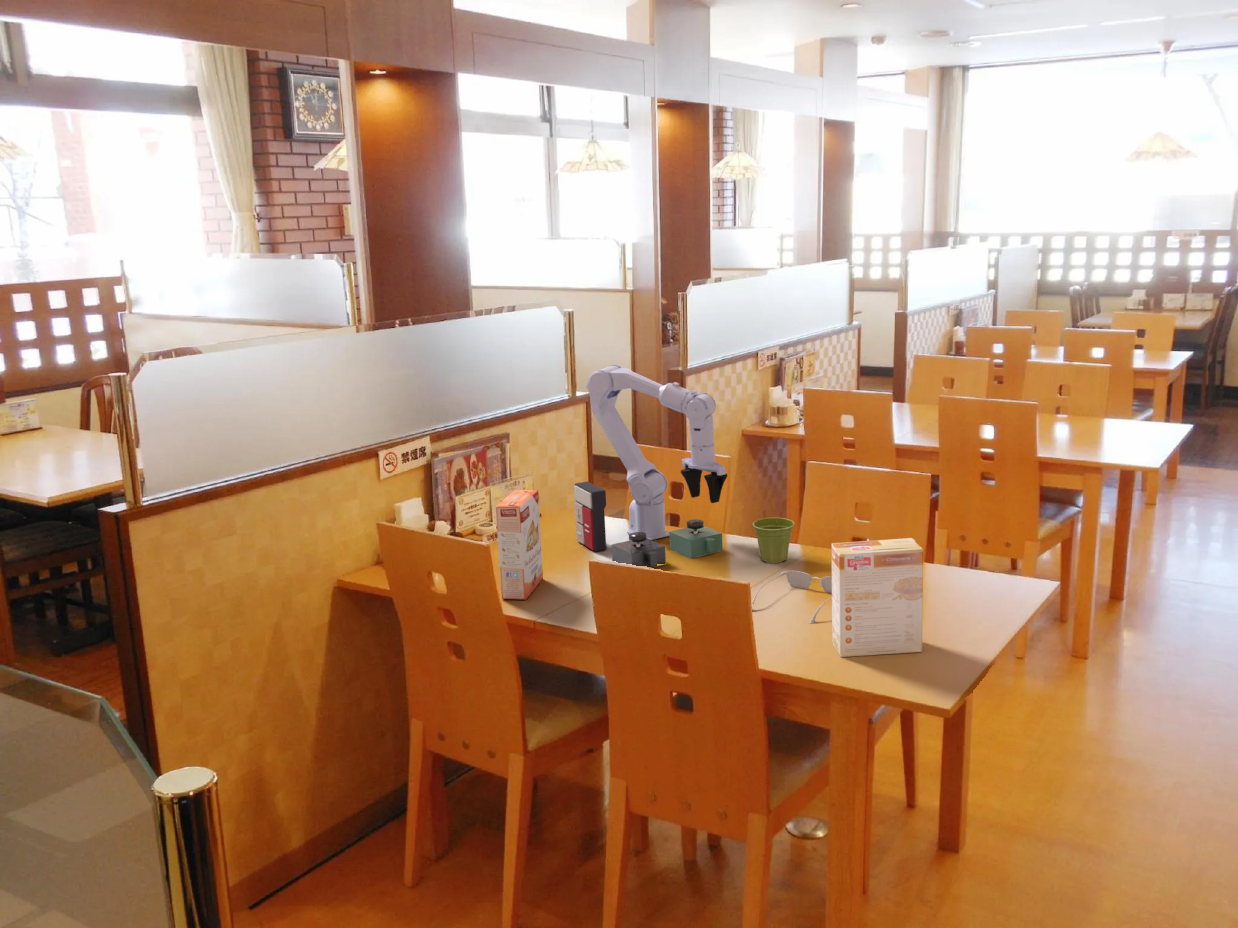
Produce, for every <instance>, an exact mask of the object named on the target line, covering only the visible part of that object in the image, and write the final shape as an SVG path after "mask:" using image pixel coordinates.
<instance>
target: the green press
mask: <svg viewBox="0 0 1238 928" xmlns="http://www.w3.org/2000/svg"><path fill="white" fill-rule="evenodd" d="M668 532H669V535H670V536H669V549H670V550H671V551H674V552H675V551H676V552H675V553H678V554H680V555H682V556H684V557H687V558H689V559H694V558H699V557H703V556H706V555H707V556H708V555H710V554H715V553H719V552H723V550H724V549H723V533H722V532H721V531H718V530H715V529H713V528H710V527H708V526H705V525H704V527H703V528H700V529H698V534H693V529H689V528H687V527H685V528H680V529H676V530H671V531H670V530H669V531H668Z"/></svg>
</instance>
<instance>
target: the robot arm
mask: <svg viewBox="0 0 1238 928" xmlns="http://www.w3.org/2000/svg"><path fill="white" fill-rule="evenodd" d="M585 388H586V389H587V391H588V393H589V401H590V408H591V412H592V413H593V415H594V417H595V418H596V421H597V422H598V423H599V426H600V427H601V429H602V430H603V432H604V434H605V435H606V437H607V439H608V440H609V442H610V444H611V446H612V447H613V449H614V450H615V452H616V454H617V455H618V457H619V459H620V461H621V463H622V464H623V465H624V466H623V467H625V469H626V471H627V475H626V482H627V484H628V486H629V490H630V491H629V492H630V495H631V497H632V499H633V500H632V501H631V502H630V504H629V507H628V513H629V514H628V516H629V518H628V519H629V530H626V533H627V534H628V535H629V534H630V533H633V532H644V533H646V538H648V539H650V540H652V541H654V540H658V539H661V538H665V537H670V535H669V532H670V531H668V530H666V517H665V515H666V513H665V511H666V509H665V496H664V494H665V492H666V491H667V490H668V485H669V484H668V482H669V481H668V479H667V477H666V476H665V474H664V473H663V472H661V471H660V470H659V469H657V467H656V465H655V464H654V463H652V462H650V461H648V460H647V459H646V456H645V455H644V454H643V452H642V451H641V449H640V447H639V445H638V444H637V442H636V440H635V439H634V437H633V435H632V434H631V432H630V430H629V429H628V427H627V426H626V424H625V421H624V419H622V417H621V415H620V414H619V412H618V410H617V408H616V403H617V400H618V396H619V394H620V393H621V391H622V390H627V389H630V390H632V391H633V390H634V391H637V392H639V393H642V394H645V395H648V396H651V397H654V398H656V399H658V401H659V403H660V405H662V406H664V407H666V408H669V409H671V410H673V411H675V412H678V413H681V414H684V415H685V417H686V418H687V419H688V421H689V443H690V444H689V445H690V457H686V458H682V459H681V464H682V465H681V467H683V468H684V469H681V470H680V474H681V475H682V476H683V478H684V480H685V482H686V484H687V488H688V491H689V493H690V497H691V498H692V499H693V498H698V497H700V495H701V481H702V480H701V478H702V473H703V471H704V472H706V473H707V472H708V474H705V475H703V478H704V479H705V482H706V484H707V488H708V494H709V495H708V496H709V500H710V501H709V502H710V503H711V504H715V503H719V502H720V499H721V498H720V497H721V493H722V490H723V486H724V485H725V481H726V480H727V478H728V473H727V471H726V470H727V469H726V465H722V464H720V463H719V462H717V461H716V456H715V455H716V453H715V433H714V432H715V431H714V417H713V416H714V415H713V414H714V413H715V411H716V408H717V403H716V400H715V399H714V397H713V396H711V395H710V394H708V393H707V392H701V393H699V394H698V391H697V390H695V389H692V390H690V389H687V388H684V387H683V386H680V383H679V382H676V381H674V382H668V383H666V384H665V385H663V384H662V383H660V382H656V381H654V380H652V379H650V378H648V377H646V376H643V375H641V374H639V373H637V372H634V371H633V370H631V369H629V368H628V367H622V366H620V365H618V364H610V365H609V366H607V367H604V368H601V369H595V370H594V371H592V372H590V374H589V377H588V379H587V382H586V387H585Z"/></svg>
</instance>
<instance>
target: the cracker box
mask: <svg viewBox="0 0 1238 928" xmlns="http://www.w3.org/2000/svg"><path fill="white" fill-rule="evenodd" d="M539 497H540V496H539V490H535V489H515V490H513V491H512V492H511V493H510V494H508V495H507V496H506V497H505V498H504V499H503V500H501V502H499V503H498V504H497V505H495V516H496V517H495V518H496V530H497V531H496V533H497V546H498V558H499V560H498V562H499V563H498V565H499V576H500V577H499V578H500V591H501V599H503V600H520V601H522V600H523V601H525V600H527V599H528V597H529V596H530V595H531V594H532V592H534V590H535V589H536V588H537V586H538V585H540V583H541V582H542V581H543V580H544V573H543V572H544V570H543V555H542V554H543V553H542V551H543V550H542V540H541V539H542V537H541V536H542V535H541V520H540V519H541V515H540V501H539V499H540V498H539Z"/></svg>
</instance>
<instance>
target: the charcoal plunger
mask: <svg viewBox="0 0 1238 928" xmlns="http://www.w3.org/2000/svg"><path fill="white" fill-rule="evenodd" d="M646 539H647V538H646V533H644V532H633V533H630V534H629V533H628V541H631V542H636V548H637V547H640V542H643V541H645V540H646Z"/></svg>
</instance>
